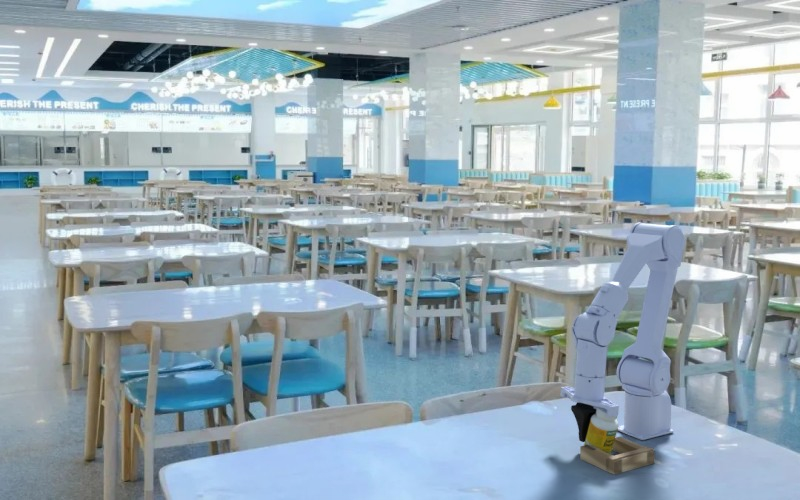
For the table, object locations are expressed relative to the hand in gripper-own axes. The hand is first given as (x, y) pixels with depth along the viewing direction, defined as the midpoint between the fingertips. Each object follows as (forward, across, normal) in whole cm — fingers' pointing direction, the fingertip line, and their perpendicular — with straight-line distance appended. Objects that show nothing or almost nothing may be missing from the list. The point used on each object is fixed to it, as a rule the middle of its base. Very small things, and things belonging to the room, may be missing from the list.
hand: (585, 441), depth 163 cm
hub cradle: (+2, +7, +2) cm, 7 cm away
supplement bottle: (+2, +2, +1) cm, 3 cm away
